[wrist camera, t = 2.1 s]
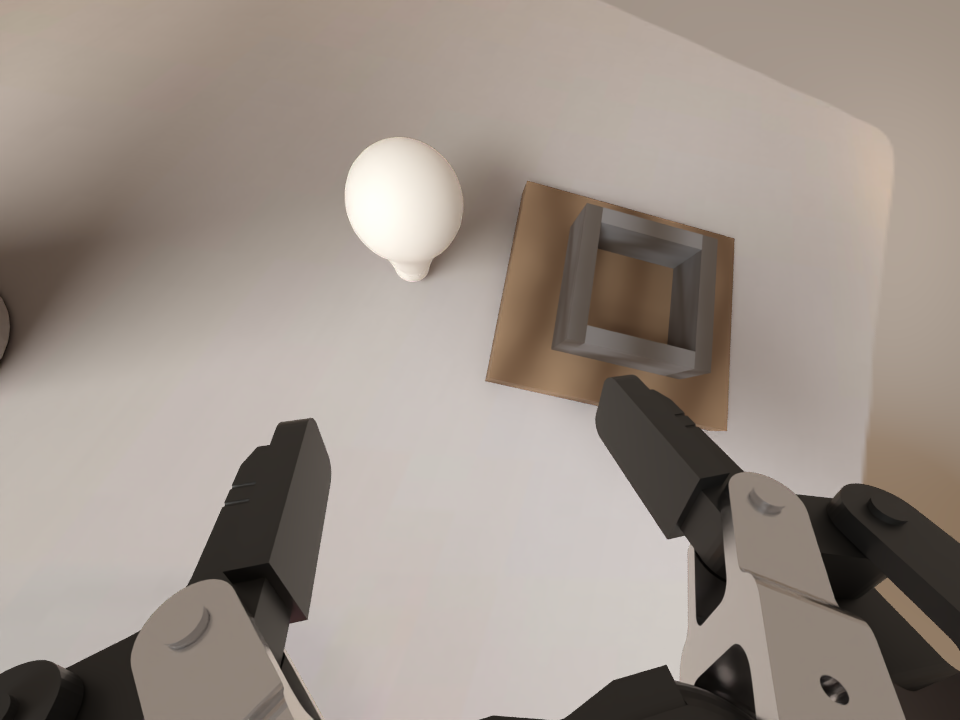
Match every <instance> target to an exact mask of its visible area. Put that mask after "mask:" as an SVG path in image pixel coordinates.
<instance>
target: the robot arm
mask: <svg viewBox="0 0 960 720" xmlns="http://www.w3.org/2000/svg"><path fill="white" fill-rule="evenodd" d="M9 331H10V322H9V315H8V311H7V308H6V306H5V304H4V302H3V300H2V298H1V297H0V359H1V358H2V356H3V353H4V351H5V348H6V346H7V343H8V339H9ZM595 421H596V428H597V432H598V434H599V436H600V438H601V440H602V441H603V443H604V444H605V446H606V447H607V449H608V450H609V452H610V453H611V455H612V456H613V458H614V459H615V461H616V462H617V464H618V465H619V467H620V468H621V470H622V471H623V473H624V474H625V476H626V477H627V479H628V481H629V482H630V484H631V485H632V487H633V488H634V490H635V491H636V493H637V494H638V496H639V497H640V499H641V500H642V502H643V503H644V505H645V506H646V508H647V509H648V511H649V512H650V514H651V515H652V517H653V518H654V520H655V521H656V523H657V525H658V526H659V528H660V529H661V531H662V532H663V534H664V535H665V537H666V538H667V539H672V538H676V537H681V536H686V538H687V539H688V541H689V542H690V545H689V548H688V553H687V558H688V631H687V638H686V642H685V645H684V648H683V652H682V657H681V664H680V682H679V681H674V679H673V677H672V675H671V673H670V671H669V669H668V667H667V665H664V666H661V667H657V668H654V669H651V670H647V671H644V672H640V673H637V674H634V675H630V676H627V677H623V678H620V679H616V680H613V681H612V682H611V683H609V684H608V685H607V686H605V687H604V688H603V689H602V690H600V691H599V692H598V693H597V694H595V695H594V696H593V697H591V698H590V699H589V700H588V701H586V702H585V703H584V704H583V705H581V706H580V707H579V708H577V709H576V710H575V711H574V712H572V713H571V714H570V715H569V716H567V717H566V718H564V719H561V720H960V671H958V670H957V669H955V668H954V667H952V666H951V665H950V664H948V663H947V662H946V661H945V660H944V659H943V658H942V657H941V656H940V655H939V654H938V653H937V652H936V651H935V650H934V649H933V648H932V647H931V646H930V645H929V644H928V643H927V642H926V641H925V640H924V639H923V637H922V636H921V635H920V634H919V633H918V632H917V631H916V630H915V629H914V628H913V627H912V626H911V625H910V624H909V623H908V622H907V621H906V620H905V619H904V618H903V617H902V616H901V615H900V614H899V613H898V612H897V611H896V610H895V609H894V608H893V607H892V606H891V605H890V604H889V603H888V602H887V601H886V600H885V599H884V598H883V597H882V595H881V594H880V593H879V592H878V591H877V590H876V589H875V588H874V587H875V586H877V585H878V584H879V583H881V582H882V581H883V580H884V579H886V578H887V577H888V578H889V579H890V580H891V581H892V582H893V583H894V584H895V585H896V586H897V587H898V588H899V589H900V590H901V591H902V592H904V594H905V595H906V596H907V597H909V599H910V600H912V601H913V602H914V603H915V604H916V605H917V606H918V607H919V608H920V609H921V610H922V611H923V612H924V613H925V614H926V615H927V616H928V617H929V618H930V619H931V620H932V621H933V622H934V623H935V624H936V625H937V626H938V627H939V628H940V629H941V630H942V631H944V633H945V634H946V635H948V636H949V638H951V640H952V641H953V642H954V643H955V644H956V645H957V647H958V648H959V650H960V543H958V542H957V541H956V540H955V539H953V538H952V537H951V536H949V535H948V534H947V533H945V532H944V531H943V530H942V529H940V528H939V527H938V526H937V525H935V524H934V523H933V522H931V521H930V520H929V519H928V518H926V517H925V516H924V515H923V514H921V513H920V512H919V511H917V510H916V509H915V508H914V507H912V506H911V505H909V504H908V503H906V502H905V501H903V500H902V499H900V498H898V497H896V496H895V495H893V494H891V493H889V492H886V491H884V490H881V489H879V488H876V487H873V486H869V485H865V484H848V485H846V486H844V487H843V488H842V489H841V490H840V491H839V492H838V493H837V494H836V495H835V496H834V498H824V497H815V496H806V495H797V494H794V493H793V492H792V491H791V490H790V489H789V488H787V487H786V486H784V485H783V484H781V483H780V482H778V481H776V480H774V479H772V478H770V477H767V476H764V475H762V474H758V473H752V472H744V471H743V470H742V469H741V468H740V467H739V466H738V465H737V464H736V463H735V462H734V461H733V460H732V459H731V458H730V457H729V456H728V455H727V454H726V453H725V452H724V451H723V450H722V449H721V448H720V447H719V446H718V445H716V444H715V443H714V442H713V441H712V440H711V439H710V438H709V437H708V436H707V435H706V434H705V433H704V432H703V431H702V430H701V429H700V428H699V427H696V424H695V423H694V422H693V421H692V420H691V419H690V418H689V417H688V416H685V413H684V412H683V411H682V410H681V409H680V408H679V407H678V406H677V405H676V404H675V403H674V402H673V401H672V400H671V399H670V398H668V397H666V396H664V395H663V394H661V393H659V392H658V391H656V390H654V389H651V390H650V389H649V388H648V387H647V386H646V385H645V384H644V383H643V382H642V381H641V380H640V379H639V378H638V377H637V376H636V375H633V374H631V375H624V376H616V377H609V378H607V379H606V380H605V381H604V384H603V388H602V392H601V396H600V401H599V405H598V409H597V413H596V419H595ZM330 483H331V465H330V460H329V456H328V453H327V451H326V448H325V445H324V443H323V440H322V437H321V434H320V432H319V429H318V426H317V424H316V422H315V420H314V419H313V418H308V419H301V420H294V421H286V422H281V423H279V424H278V425H277V427H276V430H275V433H274V435H273V438H272V441H271V443H270V445H267V446H260V447H257V448H256V449H255V450H254V451H253V452H252V454H251V455H250V456H249V457H248V458H247V459H246V460H245V461H244V462H243V463H242V465H241V466H240V468H239V471H238V473H237V475H236V477H235V480H234V482H233V484H232V489H231V490H230V491H229V493H228V496H227V498H226V500H225V506H224V507H222V509H221V512H220V514H219V516H218V518H217V521H216V523H215V525H214V528H213V530H212V532H211V534H210V537H209V539H208V541H207V544H206V546H205V548H204V550H203V553H202V555H201V557H200V560H199V562H198V564H197V566H196V569H195V571H194V573H193V576H192V578H191V580H190V581H189V583H188V585H187V586H186V588H184V589H182V590H180V591H179V592H177V593H176V594H174V595H173V596H172V597H170V598H169V599H168V600H166V601H165V602H164V603H163V604H162V605H161V606H160V607H159V608H158V609H157V610H156V611H155V612H154V613H153V614H152V615H151V616H150V618H149V619H148V620H147V622H146V623H145V624H144V626H143V627H142V629H141V630H140V631H139V632H137V633H135V634H133V635H131V636H130V637H128V638H126V639H124V640H122V641H120V642H118V643H116V644H114V645H112V646H110V647H108V648H106V649H104V650H102V651H100V652H98V653H96V654H94V655H92V656H90V657H88V658H86V659H84V660H82V661H80V662H78V663H76V664H74V665H72V666H70V667H68V668H66V669H65V668H63V667H61V666H59V665H57V664H55V663H53V662H50V661H46V660H36V661H31V662H27V663H24V664H21V665H18V666H16V667H13V668H11V669H9V670H7V671H5V672H3V673H1V674H0V720H325V719H324V718H323V716H322V714H321V712H320V710H319V709H318V707H317V705H316V703H315V701H314V700H313V698H312V696H311V694H310V692H309V691H308V689H307V687H306V685H305V684H304V682H303V680H302V678H301V676H300V675H299V673H298V671H297V669H296V667H295V666H294V664H293V662H292V660H291V658H290V657H289V655H288V653H287V651H286V650H285V648H284V647H285V642H286V637H287V632H288V627H289V624H290V623H294V622H299V621H303V620H308V614H309V608H310V602H311V596H312V590H313V584H314V578H315V572H316V566H317V560H318V554H319V548H320V542H321V536H322V531H323V525H324V519H325V513H326V507H327V501H328V495H329V489H330ZM480 720H543V719H530V718H517V717H504V716H490V717H487V718H483V719H480Z"/></svg>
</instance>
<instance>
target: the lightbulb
mask: <svg viewBox="0 0 960 720" xmlns="http://www.w3.org/2000/svg"><path fill="white" fill-rule="evenodd" d="M345 207H346V211H347V216H348V218H349V221H350V223H351V225H352V228H353V230H354V232H355V233H356V234H357V236H358V237H359V238H360V240H361V241H362V242H363V243H364V244H365V245H366V246H367V247H368V248H369V249H370V250H371V251H372V252H374V253H376V254H377V255H379V256H380V257H382V258H385V259H387V260H389V261H390V262H391V264H392V265H393V266H394V268H395V270H396V272H397V274H398V275H399V276H400V277H401V278H402V279H404V280H406V281H409V282H416V281H419V280H422V279H423V278H424V277H425V276H426V275H427V274H428V272H429V268H430V264H431V262H432V260H433V258H434V257H436V256H438V255H439V254H441V253H442V252H443V251H444V250H445V249H446V248H448V247H449V245H450V244H451V242H452V241H453V240H454V238H455V236H456V235H457V233H458V230H459V228H460V226H461V221H462V215H463V209H464V208H463V195H462V190H461V187H460V183H459V181H458V178H457V176H456V174H455V172H454V170H453V168H452V167H451V165H450V164H449V163H448V161H447V160H446V159H445V158H444V157H443V156H442V155H441V154H440V153H439V152H437V151H436V150H435V149H434V148H432V147H431V146H429V145H427V144H425V143H423V142H420V141H418V140H415V139H411V138H407V137H392V138H387V139H383V140H380V141H378V142H376V143H374V144H372V145H370V146H369V147H367V148H366V149H365V150H364V151H363V152H362V153H361V154H360V155H359V156H358V157H357V159H356V160H355V161H354V162H353V164H352V166H351V168H350V170H349V173H348V177H347V180H346V185H345Z"/></svg>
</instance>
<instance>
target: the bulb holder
mask: <svg viewBox="0 0 960 720" xmlns="http://www.w3.org/2000/svg"><path fill="white" fill-rule="evenodd" d="M733 264H734V238H731V237H727V236H723V235H720V234H716V233H713V232H709V231H705V230H702V229H698V228H695V227H691V226H688V225H684V224H680V223H677V222H673V221H670V220H666V219H663V218H659V217H655V216H652V215H648V214H645V213H641V212H638V211H634V210H630V209H627V208H623V207H620V206H616V205H613V204H609V203H605V202H602V201H598V200H595V199H591V198H587V197H584V196H580V195H577V194H573V193H570V192H566V191H562V190H559V189H555V188H552V187H548V186H545V185H541V184H537V183H534V182H530V181H527V183H526V185H525V188H524V190H523V193H522V198H521V203H520V208H519V213H518V218H517V223H516V228H515V233H514V238H513V244H512V249H511V254H510V259H509V264H508V269H507V274H506V279H505V284H504V289H503V294H502V299H501V304H500V309H499V314H498V319H497V325H496V330H495V335H494V340H493V345H492V350H491V355H490V360H489V365H488V370H487V375H486V380H485V381H488V382H492V383H497V384H501V385H506V386H510V387H515V388H519V389H524V390H528V391H533V392H537V393H542V394H546V395H551V396H555V397H560V398H565V399H569V400H574V401H578V402H583V403H587V404H592V405H596V406H598V405H599V401H600V396H601V392H602V388H603V384H604V381H605V380H606V379H607V378H609V377H616V376H624V375H631V374H633V375H636V376H637V377H638V378H639V379H640V380H641V381H642V382H643V383H644V384H645V385H646V386H647V387H648V388H649V389H650V390H651V389H654V390H656V391H658V392H659V393H661V394H663V395H664V396H666V397H668V398H670V399H671V400H672V401H673V402H674V403H675V404H676V405H677V406H678V407H679V408H680V409H681V410H682V411H683V412H684V413H685V416H688V417H689V418H690V419H691V420H692V421H693V422H694V423H695V424H696V427H699V428H700V429H705V430H709V431H727V415H728V390H729V365H730V340H731V315H732V289H733Z"/></svg>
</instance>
